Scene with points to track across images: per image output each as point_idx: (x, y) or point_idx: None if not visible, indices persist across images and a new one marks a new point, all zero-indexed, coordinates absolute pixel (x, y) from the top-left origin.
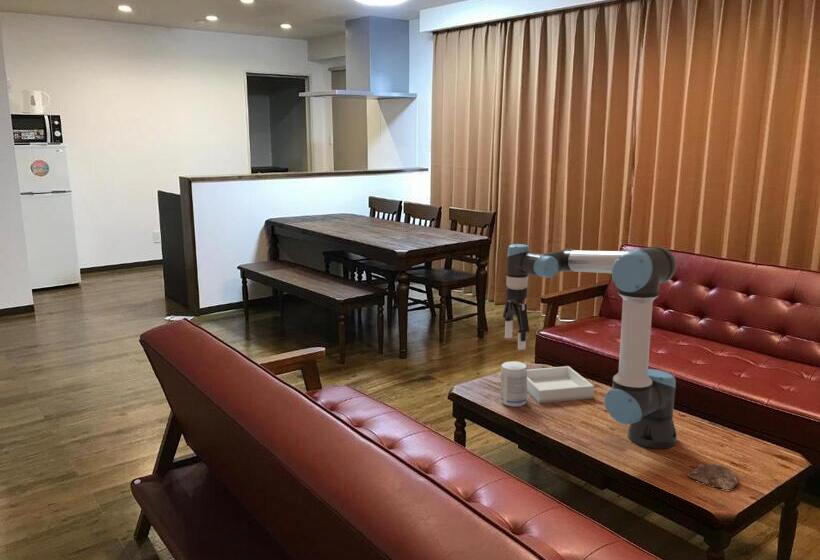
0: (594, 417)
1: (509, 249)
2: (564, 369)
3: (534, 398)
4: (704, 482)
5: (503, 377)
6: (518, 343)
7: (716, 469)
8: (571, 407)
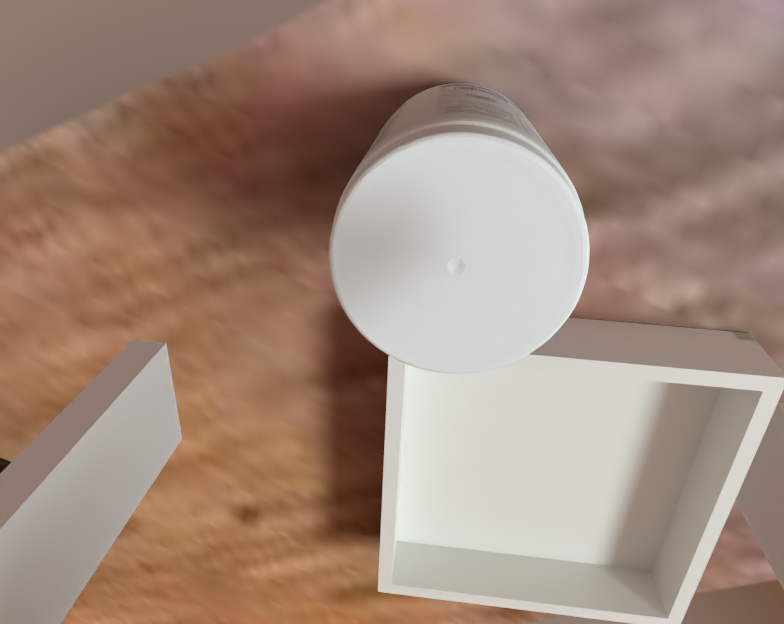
0: (190, 446)
1: None
2: (668, 596)
3: None
4: None
5: (434, 113)
6: (84, 402)
7: None
8: (310, 417)
